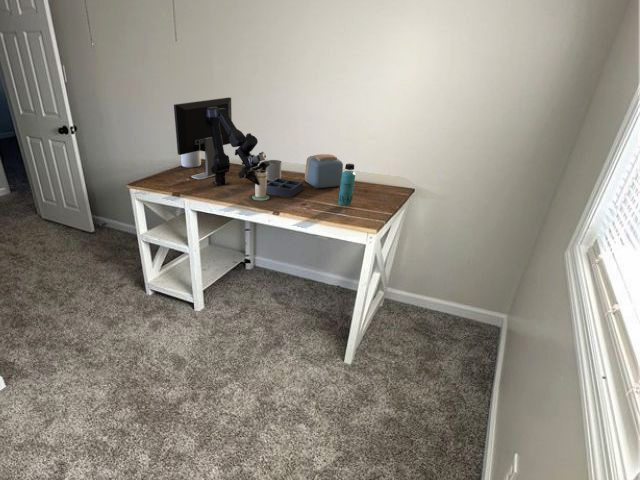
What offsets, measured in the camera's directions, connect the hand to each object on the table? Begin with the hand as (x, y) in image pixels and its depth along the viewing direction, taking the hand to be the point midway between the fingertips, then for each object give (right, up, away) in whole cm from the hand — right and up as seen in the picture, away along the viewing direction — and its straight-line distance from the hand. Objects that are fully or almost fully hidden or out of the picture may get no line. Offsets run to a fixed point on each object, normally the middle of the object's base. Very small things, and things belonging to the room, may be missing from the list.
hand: (263, 183), depth 207 cm
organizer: (+11, -1, +13) cm, 18 cm away
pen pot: (-1, -5, +4) cm, 7 cm away
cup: (+8, +11, +33) cm, 35 cm away
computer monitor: (-30, +17, +42) cm, 54 cm away
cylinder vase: (-43, +28, +60) cm, 79 cm away
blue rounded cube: (+34, +6, +24) cm, 43 cm away
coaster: (-1, -6, +5) cm, 8 cm away
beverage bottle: (+39, -13, -6) cm, 41 cm away
